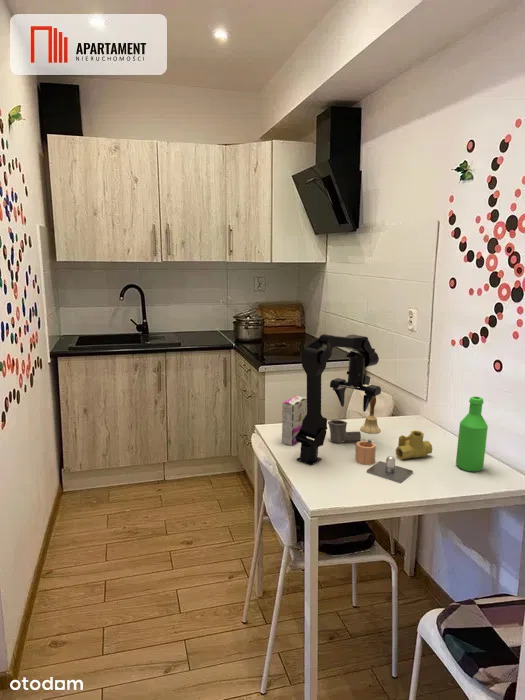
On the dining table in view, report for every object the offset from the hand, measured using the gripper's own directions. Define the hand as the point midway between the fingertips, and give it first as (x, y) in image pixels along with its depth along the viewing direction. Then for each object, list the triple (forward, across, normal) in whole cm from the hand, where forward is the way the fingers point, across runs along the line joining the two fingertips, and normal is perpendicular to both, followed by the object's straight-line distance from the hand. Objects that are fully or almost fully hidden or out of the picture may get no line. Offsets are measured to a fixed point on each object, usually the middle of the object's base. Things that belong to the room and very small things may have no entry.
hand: (353, 408), depth 195 cm
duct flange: (+14, -23, +15) cm, 31 cm away
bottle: (+14, -42, -7) cm, 45 cm away
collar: (+14, -12, +12) cm, 21 cm away
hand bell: (+14, +1, -18) cm, 23 cm away
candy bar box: (+14, +18, +12) cm, 26 cm away
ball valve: (+14, -22, -4) cm, 26 cm away
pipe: (+14, +3, 0) cm, 14 cm away
